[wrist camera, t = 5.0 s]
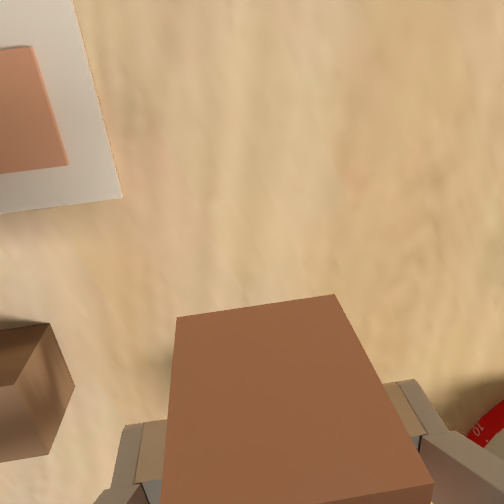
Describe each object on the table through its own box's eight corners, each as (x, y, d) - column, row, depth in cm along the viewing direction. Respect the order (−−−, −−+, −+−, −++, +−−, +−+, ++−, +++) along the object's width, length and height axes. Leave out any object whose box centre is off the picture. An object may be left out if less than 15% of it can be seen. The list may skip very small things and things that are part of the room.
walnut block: (-38, 335, 23) (-96, 401, 18) (50, 322, 23) (13, 384, 19) (-5, 397, 25) (-49, 470, 21) (75, 385, 25) (48, 454, 21)
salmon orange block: (176, 317, 11) (157, 531, 6) (334, 294, 11) (435, 483, 6) (202, 425, 13) (202, 647, 8) (334, 403, 13) (409, 606, 9)
